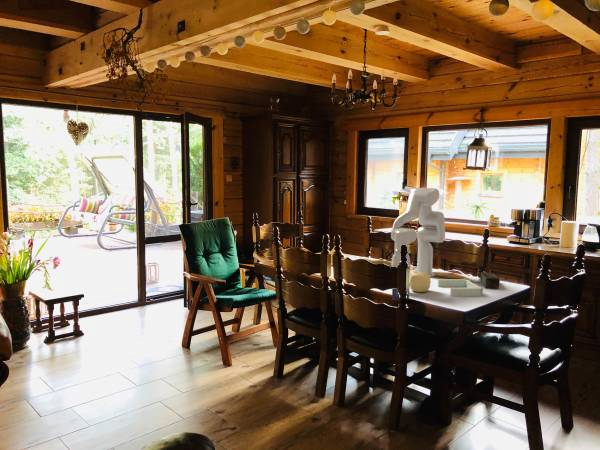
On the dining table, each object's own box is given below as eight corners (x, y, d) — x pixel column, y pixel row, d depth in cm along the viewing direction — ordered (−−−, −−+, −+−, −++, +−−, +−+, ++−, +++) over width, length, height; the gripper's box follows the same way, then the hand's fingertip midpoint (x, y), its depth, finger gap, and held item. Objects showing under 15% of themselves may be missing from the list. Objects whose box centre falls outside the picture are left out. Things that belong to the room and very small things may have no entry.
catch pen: (437, 286, 285) (438, 279, 284) (466, 286, 285) (466, 279, 285) (451, 296, 262) (451, 288, 262) (482, 295, 263) (482, 288, 263)
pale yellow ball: (431, 289, 276) (432, 271, 275) (428, 294, 265) (429, 275, 264) (411, 287, 281) (411, 269, 279) (407, 292, 270) (408, 273, 268)
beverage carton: (493, 282, 296) (494, 271, 296) (499, 289, 278) (500, 278, 277) (480, 281, 298) (480, 271, 297) (485, 289, 279) (485, 277, 279)
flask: (408, 298, 257) (408, 278, 256) (410, 299, 254) (410, 279, 253) (391, 298, 256) (391, 278, 255) (392, 300, 254) (393, 280, 252)
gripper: (412, 251, 274) (411, 283, 276) (386, 251, 274) (385, 283, 276) (416, 253, 267) (415, 286, 269) (389, 253, 266) (388, 286, 268)
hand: (400, 284), depth 272 cm, fingers closed
